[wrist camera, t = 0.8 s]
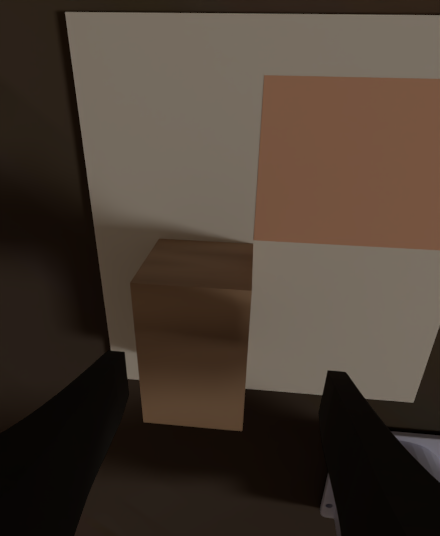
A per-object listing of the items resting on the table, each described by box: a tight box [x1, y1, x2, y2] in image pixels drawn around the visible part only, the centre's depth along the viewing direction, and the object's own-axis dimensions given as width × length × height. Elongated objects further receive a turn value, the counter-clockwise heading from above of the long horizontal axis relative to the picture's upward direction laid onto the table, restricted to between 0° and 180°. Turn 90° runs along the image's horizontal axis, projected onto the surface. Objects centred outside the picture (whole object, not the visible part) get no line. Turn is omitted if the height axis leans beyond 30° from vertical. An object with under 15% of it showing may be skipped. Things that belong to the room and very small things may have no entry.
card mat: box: [65, 12, 440, 403], centre depth 19 cm, size 20×19×1 cm
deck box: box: [130, 239, 253, 431], centre depth 19 cm, size 8×5×5 cm, turn 179°
